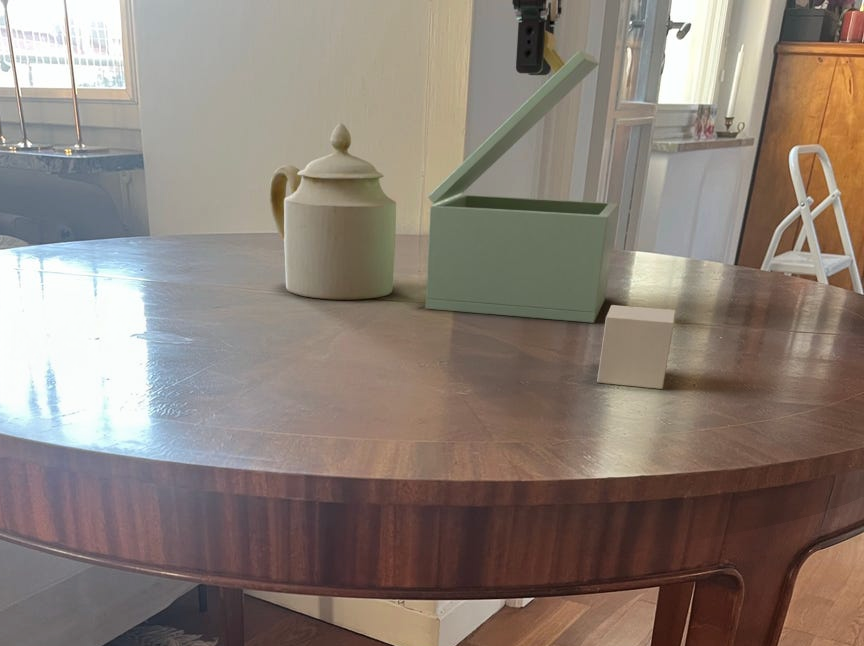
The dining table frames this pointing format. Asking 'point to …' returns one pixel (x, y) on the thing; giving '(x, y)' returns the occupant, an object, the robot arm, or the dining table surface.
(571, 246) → the chest
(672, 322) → the block
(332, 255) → the sugar bowl
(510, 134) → the chest lid
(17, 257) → the dining table surface
